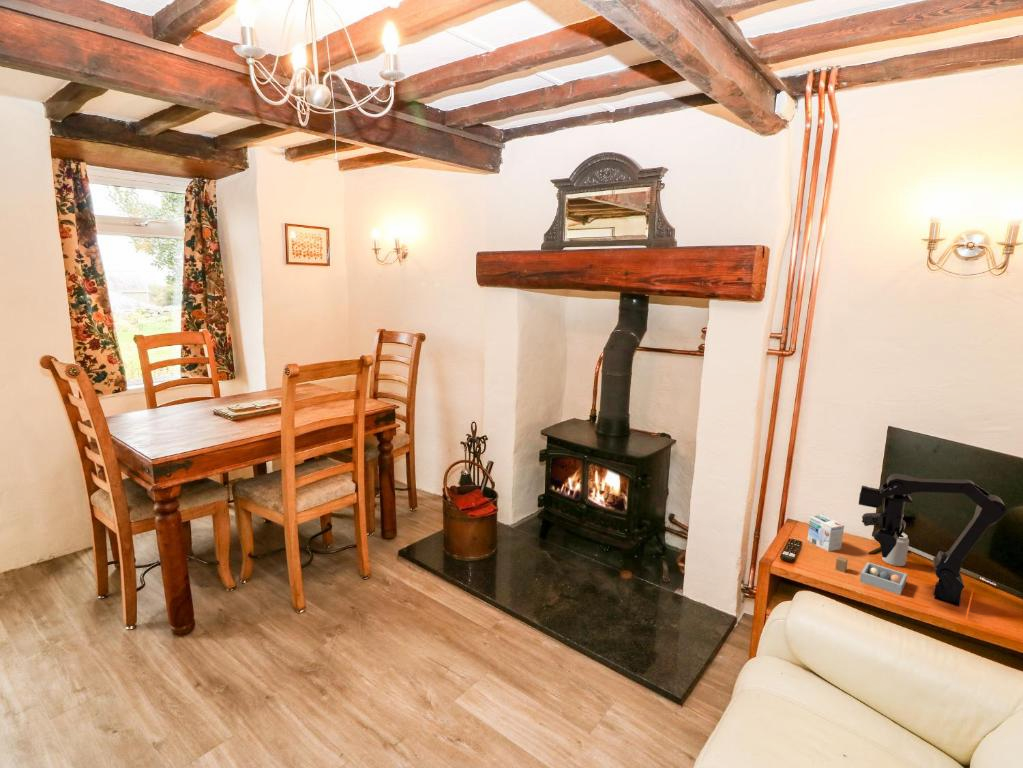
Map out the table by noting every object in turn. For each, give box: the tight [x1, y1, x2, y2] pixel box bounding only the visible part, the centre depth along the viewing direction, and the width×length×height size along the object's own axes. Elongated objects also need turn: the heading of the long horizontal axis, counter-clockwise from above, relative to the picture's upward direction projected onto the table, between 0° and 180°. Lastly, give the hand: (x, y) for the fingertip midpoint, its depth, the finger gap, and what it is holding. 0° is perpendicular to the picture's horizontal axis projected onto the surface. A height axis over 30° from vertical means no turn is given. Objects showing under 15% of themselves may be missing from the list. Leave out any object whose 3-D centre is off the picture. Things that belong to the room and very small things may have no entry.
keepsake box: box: [859, 561, 908, 596], centre depth 194 cm, size 12×10×4 cm
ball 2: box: [880, 571, 890, 580], centre depth 196 cm, size 3×3×3 cm
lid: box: [834, 555, 849, 573], centre depth 203 cm, size 12×10×5 cm
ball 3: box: [891, 575, 901, 583], centre depth 194 cm, size 3×3×3 cm
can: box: [881, 532, 910, 567], centre depth 207 cm, size 8×8×12 cm
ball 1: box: [869, 568, 879, 576], centre depth 198 cm, size 3×3×3 cm
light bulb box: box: [807, 514, 845, 552], centre depth 221 cm, size 11×7×11 cm, turn 17°
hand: (886, 552), depth 192 cm, fingers open, 9 cm apart
